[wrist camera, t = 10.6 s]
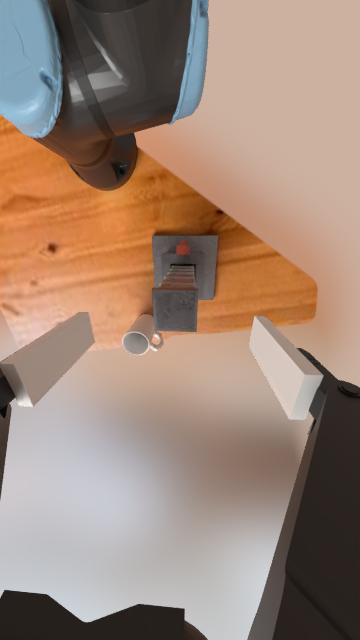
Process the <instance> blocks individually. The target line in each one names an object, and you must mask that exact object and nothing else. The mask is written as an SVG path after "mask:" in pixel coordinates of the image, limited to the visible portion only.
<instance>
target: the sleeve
mask: <svg viewBox="0 0 360 640" xmlns="http://www.w3.org/2000/svg"><path fill="white" fill-rule="evenodd" d="M152 246H153V263H154V281H155V288H159V286H160V285H159V283H160V282H163V281H164V277H165V276H167V275H168V274H167V273H168V272H170V269H172V265H177V266H194V277H195V283H196V288H198V300H213V298H214V285H215V272H216V260H217V247H218V236H152Z"/></svg>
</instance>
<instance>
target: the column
mask: <svg viewBox="0 0 360 640" xmlns="http://www.w3.org/2000/svg"><path fill="white" fill-rule="evenodd" d="M167 274H168V275H167V276H165V277H164V281H163V282H160V283H159V285H160V286H159V288H153V289H152V299H153V315H154V330H155V331H182V332H196V330H197V306H198V288H196V283H195V277H194V266H177V265H172V269H170V272H168V273H167Z"/></svg>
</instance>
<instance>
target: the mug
mask: <svg viewBox="0 0 360 640" xmlns="http://www.w3.org/2000/svg"><path fill="white" fill-rule="evenodd" d="M153 336H155V337H157V338H158V339H159V341H160V344H159V345H155V344H153V343H152V338H153ZM122 345H123V347H124V349H125V350H126V351H127V352H129V353H130V354H133V355H142V354H144V353H146V352H147V351H148V349H149V348H152V349H153V350H154V351H157V350H158V349H160V348H161V347H162V346H163V338H162V334H161V333H159V332H157V331H155V330H154V317H153V316H151V315H148V314H143V315H141V316H139V317H138V318H137V320H136V321H135V322H134V323H133V325H132V326H131V327H130V329H129V330H128V331H127V333H126V334H125V335H124V337H123V339H122Z"/></svg>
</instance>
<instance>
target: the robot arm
mask: <svg viewBox="0 0 360 640" xmlns="http://www.w3.org/2000/svg"><path fill="white" fill-rule="evenodd" d="M208 1H209V0H0V115H2V116H3V117H4V118H5V119H7V120H8V121H10V122H11V123H12V124H14V125H15V127H16V128H17V129H19V130H20V131H21V132H22V133H24V134H25V135H27V136H29V137H31V138H33V139H34V140H36V141H38V142H39V143H41V144H42V145H44V146H45V147H47V148H49V149H50V150H52V151H53V152H55V153H57V154H58V155H60V156H61V157H63V158H65V159H66V161H67V162H68V164H69V165H70V167H71V168H72V170H73V171H74V172H75V173H76V175H77V176H78V177H79V178H81V179H82V180H83V181H84V182H86V183H87V184H89V185H91V186H92V187H94V188H96V189H99V190H104V191H110V190H115V189H118V188H120V187H121V186H123V185H124V184H125V183H126V182H127V181H128V180H129V178H130V177H131V175H132V173H133V170H134V168H135V164H136V158H137V145H136V139H135V135H134V132H137V131H141V130H145V129H148V128H151V127H155V126H159V125H162V124H166V123H167V124H172V123H174V122H175V121H176V120H178V119H181V118H184V117H187V116H190V115H191V114H193V113H194V111H195V110H196V109H197V107H198V105H199V103H200V100H201V97H202V92H203V87H204V80H205V72H206V62H207V48H208V46H207V45H208V26H209V20H208V13H207V11H208ZM94 342H95V340H94V335H93V331H92V326H91V322H90V317H89V313H88V312H79V313H77V314H76V315H74V316H72V317H71V318H69V319H68V320H66V321H64V322H63V323H61V324H60V325H58V326H57V327H55V328H53V329H52V330H50V331H49V332H47V333H46V334H44V335H42V336H41V337H39V338H38V339H36V340H35V341H33V342H31V343H30V344H28V345H26V346H25V347H23V348H22V349H20V350H19V351H17V352H15V353H14V354H12V355H10V356H9V357H7V358H6V359H4V360H3V361H1V362H0V498H1V490H2V481H3V473H4V465H5V457H6V450H7V441H8V433H9V425H10V417H11V406H10V404H9V403H10V402H11V401H12V400H13V399H14V398H16V400H17V402H18V404H19V406H29V407H34V405H35V404H36V403H37V402H38V401H39V400H40V399H41V398H42V397H43V396H44V395H45V394H46V393H47V392H48V391H49V390H50V389H51V388H52V387H53V385H54V384H55V383H56V382H57V381H58V380H59V379H60V378H61V377H62V376H63V375H64V374H65V373H66V372H67V371H68V370H69V369H70V368H71V366H73V365H74V363H75V362H76V361H77V360H78V359H79V358H80V357H81V356H82V355H83V354H84V353H85V352H86V351H87V350H88V349H89V348H90V347H91V346H92V345H93V344H94ZM249 347H250V349H251V351H252V353H253V355H254V357H255V358H256V360H257V362H258V364H259V366H260V367H261V369H262V371H263V373H264V375H265V377H266V378H267V380H268V382H269V384H270V386H271V387H272V389H273V391H274V393H275V394H276V396H277V398H278V400H279V402H280V404H281V405H282V407H283V409H284V411H285V413H286V414H287V416H288V418H289V419H293V420H306V417H307V414H308V412H310V413H311V415H312V416H313V417H314V421H313V423H312V425H311V427H310V430H309V432H308V435H309V436H308V440H307V443H306V446H305V450H304V453H303V457H302V460H301V464H300V467H299V471H298V474H297V478H296V481H295V484H294V488H293V491H292V495H291V498H290V502H289V505H288V509H287V512H286V516H285V519H284V523H283V526H282V530H281V533H280V537H279V540H278V543H277V547H276V551H275V554H274V557H273V561H272V564H271V567H270V571H269V574H268V578H267V581H266V585H265V588H264V592H263V595H262V598H261V602H260V605H259V608H258V610H257V613H256V616H255V618H254V621H253V624H252V627H251V630H250V633H249V636H248V640H360V388H359V387H358V386H356V385H353V384H351V383H349V382H345V381H340V380H338V379H337V378H335V377H334V376H333V375H332V374H331V373H330V372H329V371H328V370H327V369H326V368H325V367H323V365H321V363H320V362H318V361H317V360H316V359H315V358H314V357H313V356H312V355H311V354H310V353H308V352H307V351H305V350H303V349H301V348H296V347H295V346H294V345H293V344H292V343H291V342H290V341H289V340H288V339H287V338H286V337H285V336H284V335H283V334H282V333H281V332H280V331H279V330H278V329H277V328H276V327H275V326H274V325H273V324H272V323H271V322H270V321H269V320H268V319H267V318H266V317H265V316H254V322H253V327H252V333H251V338H250V344H249ZM184 611H185V609H182V608H172V607H162V606H153V605H144V604H137V605H135V606H132V607H129V608H127V609H124V610H121V611H119V612H116V613H113V614H111V615H108V616H105V617H102V618H100V619H97V620H94V621H92V622H83V621H81V620H80V619H78V618H77V617H76V616H74V615H73V614H72V613H71V612H69V611H68V610H67V609H65V608H64V607H63V606H62V605H60V604H59V603H58V602H56V601H55V600H54V599H52V598H51V597H50V596H48V595H47V594H38V593H28V592H19V591H10V590H4V592H3V594H2V596H1V598H0V640H208V639H207V638H206V637H205V636H204V635H203V634H202V633H201V632H200V631H199V630H198V629H197V628H195V627H194V626H193V625H191V624H189V623H188V622H187V621H185V620H184V613H185V612H184Z"/></svg>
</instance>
